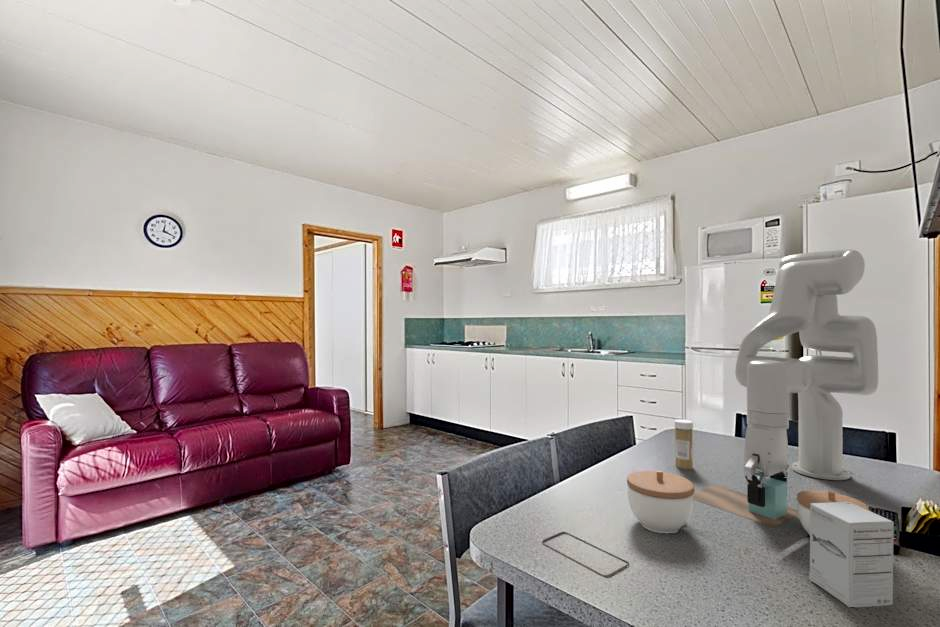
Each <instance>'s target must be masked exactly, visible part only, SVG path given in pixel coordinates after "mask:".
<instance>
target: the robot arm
mask: <svg viewBox="0 0 940 627" xmlns="http://www.w3.org/2000/svg"><path fill="white" fill-rule="evenodd" d="M778 265H779V266H778V267H779V268H778V271H777V275H776V280H775V284H774V289H773V294H772V298H771V303H770V308H769V313H768V315H767V316H766V317H765V318H763V319H762V320H761V321H759V322H757V324H756V325H754V326H753V328H751V329H750V330H749V331H748V333H746V335H745V336H744V337H743V339H742V341H741V342H740V345H739V349H738V352H737V353H738V354H737V358H736V363H735V371H734V372H735V378H736V381H737V382H738V384H739V385H741V386H743V387H744V388H746V424H747V426H746V432H745V438H744V448H743V450H744V451H743V470H744V474H745V475H744V477H745V479H746V482H745V483H746V484H747V494H746V495H747V501H748V503H750V504H754V505H757V506H760V507H765V487H763V485H764V482H765V479H766V477H769V478H773V479H776V480H780V481H784V482H787V483H788V476H789V473H788V468H789V459H790V453H789V442H788V432H787V430H788V429H789V428H790V417H789V416H790V407H789V406H790V404H789V403H790V396H789V393H790V394H791V393H792V394H797V399H798V402H797V403H798V416H797V417H798V461H794V462H792V464H791V468H792V470H793V471H794V472H796V473H798V474H800V475H804V476H807V477H811V478H815V479H821V480H829V481H844V480H845V481H846V480H848V479H851V472H850V471H848V469H846V468H843V467H844V466H843V463H844V462H843V460H844V456H843V454H844V453H843V418H844V417H843V409H842V406H841V404H840V402H838V400H837V399H836V398H835V397H834V396H833V394H831V393H834V394H835V393H838V394H846V395H858V396H861V395H862V396H868V395H873V394H874V393H875V392H876V391H877V389H878V386H879V360H878V359H879V357H878V334H877V329H876V326H875V323H874V321H872V319H870V318H869V317H867V316H864V315H840V313H839V309H838V308H839V307H838V305H839V304H838V295H845V294H849V292H851V291H852V290H853V289H854V288H855V287H856V286H857V285H858V283H860V281H861V280H862V279H863V276H864V273H865V268H866V266H865V265H866V263H865V259H864V257H863V255H862V254H861V253H860V252H859V251H858V250H855V249H841V250H840V249H837V250H827V251H812V252H803V253H801V252H800V253H795V254H789V255H787V256H785V257H783V258H781V260H780V261H779V263H778ZM798 332H799V341H800V344H801V346H802V347H803V348H804V349H806V350H810V351H815V352H830V353H834V352H835V353H848V354H850V355H851V356H852V357H851V356H850V357H849V356H835V355H823V354H822V355H819V354H817V355H816V354H813V355H804V356H802V357H800V358H792V357H790V358H789V357H776V356H759V355H758V353H759V352H760V350H761V349H762V348H763V347H764V346H766V345H767V344H768V343H770V342H773V341H774V340H778V339H780V338H784V337H786V336H788V335H792V334H795V333H798ZM757 476H760V479H759V480H758V478H757Z"/></svg>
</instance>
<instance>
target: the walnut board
mask: <svg viewBox="0 0 940 627" xmlns="http://www.w3.org/2000/svg"><path fill="white" fill-rule="evenodd" d="M693 501H696V502H699V503H702V504H704V505H709V506H711V507H714V508H717V509H720V510H722V511H725V512H728V513H731V514H733V515H738V516H740V517H743V518H745V519H748V520H750V521H754V522H757V523H760V524H763V525H764V526H769V527H771V528H776V527H778V526H779V525H781V524H783V523H785V522H787V521H789V520H791V519H793V518H794V517H796V516H799V514H798V509H794V508H791V507H788V506H787V514H785V515H784V516H782V517H780V518H778V519H776V520H775V519H772V518H769V517H766V516H763V515H760V514H757V513H754V512H751V511H749V503H748V501H747V494H746V493H742V492H739V491H737V490H736V491H735V490H734V489H730V488H726V487H724V486H720V485H718V484H717V485H716V484H712V485H709V486H707V487H704V488H702V489H699V490H696V491H694V493H693Z"/></svg>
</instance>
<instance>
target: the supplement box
mask: <svg viewBox="0 0 940 627" xmlns="http://www.w3.org/2000/svg"><path fill="white" fill-rule="evenodd" d="M894 524H895V523H894V521H892V520H891V519H888V518H886V517H884V516H881V515H880V514H877V513H875V512H873V511H871V510H870V509H869V510H866V509H864V508H862V507H860V506H857V505H855V504H853V503H851V502H828V503H811V504H810V535H809V580H810V582H813V584H816V585H817V586H818V587H820V588H821V589H823V590H825V591H826V592H827V593H829V594H830V595H832V596H833V597H834V598H836V599H837V600H839V601H840V602H841V603H842V604H844V605H845V606H847V608H850V607H855V608H869V607H870V608H871V607H872V606H873V607H886V606H893V603H894V602H893V598H894V594H893V593H894Z"/></svg>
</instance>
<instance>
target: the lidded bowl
mask: <svg viewBox="0 0 940 627" xmlns="http://www.w3.org/2000/svg"><path fill="white" fill-rule="evenodd" d="M626 484H627V499H628V502H629V506H630V510H631V511H632V514H633V515H634V517H635V518H636V519H637V520H638V522H640V524H641V526H642V527H643V529H646V530H647V529H648V531H650V532H652V531H653V532H652V533H656V532H658V533H657V534H661V533H667V534H666V535H669V534H668V533H673V534H675V533H677V532H679V531H680V529H681V528H682V527H684V526H685V525H686V524H687V522H688V521H689V520H690V517H691V516H692V511H693V508H694V500H693V493H694V492H695V484H693V482H692V481H691V480H689V479H688V478H686V477H683V476H682V475H678V474H674V473H671V472H666V471H663V470H639V471H633V472H632V473H629V475H627V477H626Z"/></svg>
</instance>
